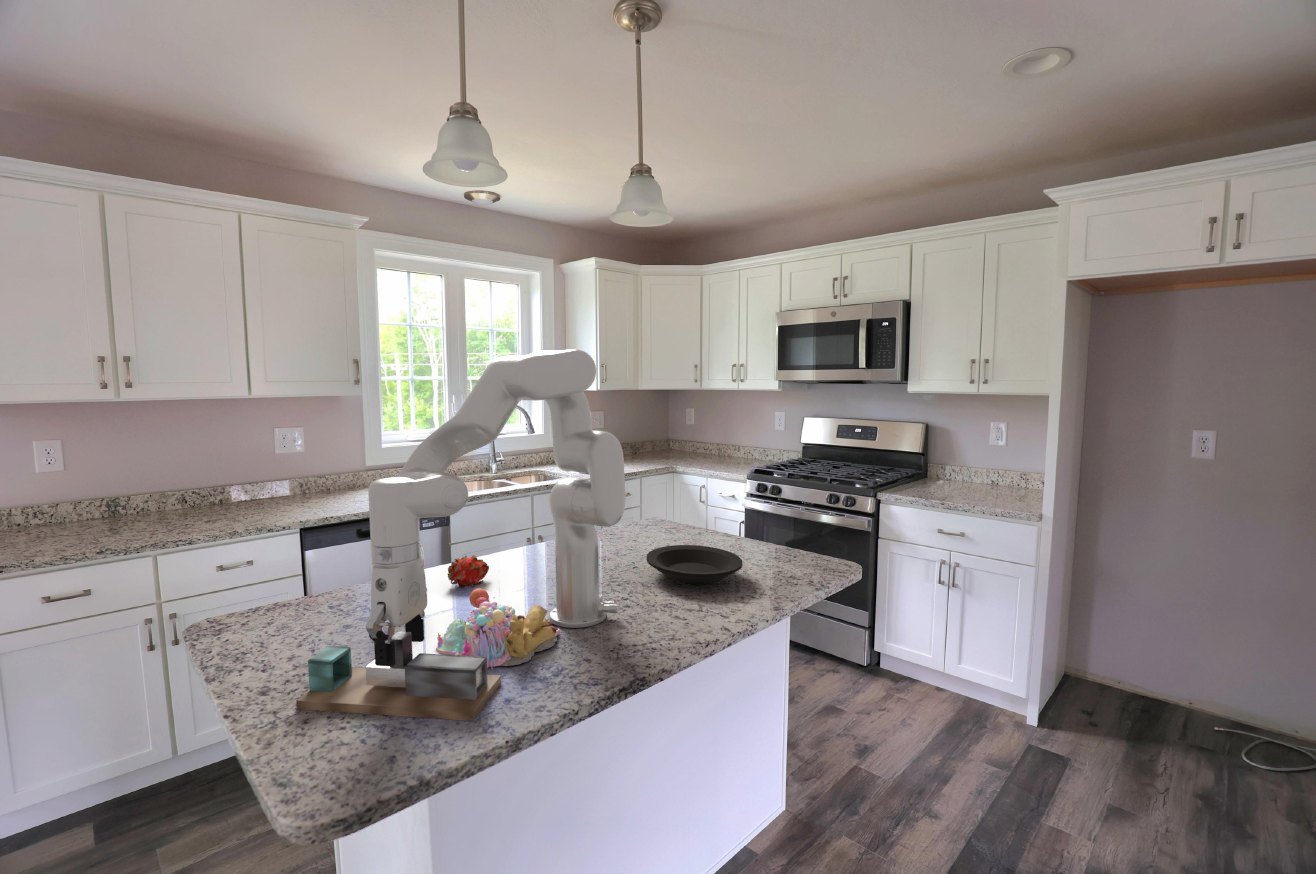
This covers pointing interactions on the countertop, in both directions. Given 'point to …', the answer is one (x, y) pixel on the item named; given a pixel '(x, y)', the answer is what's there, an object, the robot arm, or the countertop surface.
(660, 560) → the plate
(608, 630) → the countertop surface
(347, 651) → the tube rig
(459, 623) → the candy landscape model
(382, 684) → the inner tube
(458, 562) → the dragon fruit
